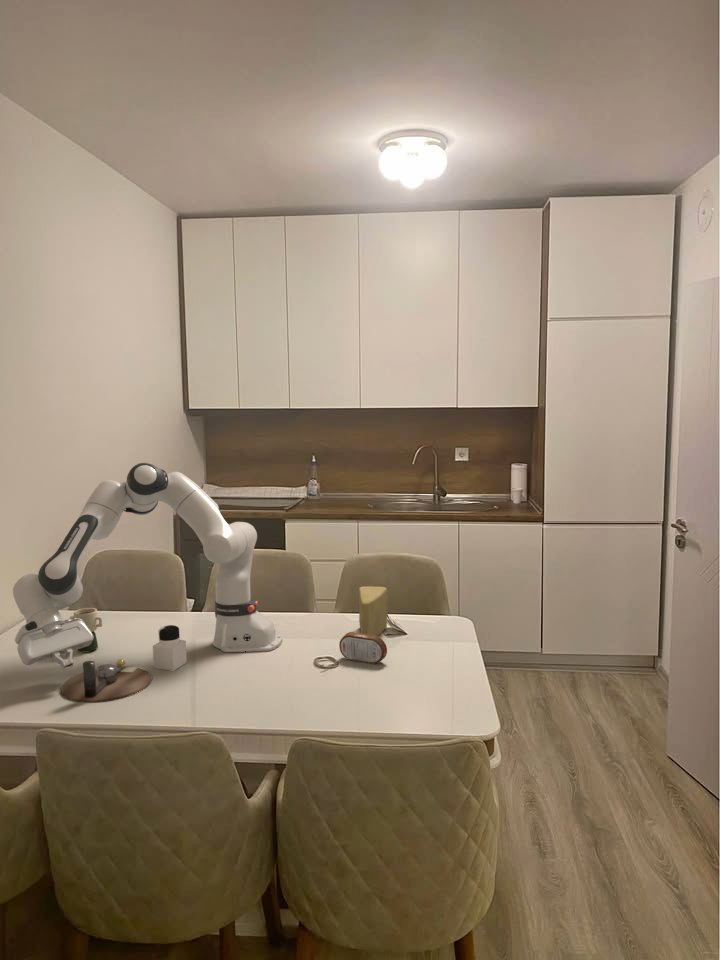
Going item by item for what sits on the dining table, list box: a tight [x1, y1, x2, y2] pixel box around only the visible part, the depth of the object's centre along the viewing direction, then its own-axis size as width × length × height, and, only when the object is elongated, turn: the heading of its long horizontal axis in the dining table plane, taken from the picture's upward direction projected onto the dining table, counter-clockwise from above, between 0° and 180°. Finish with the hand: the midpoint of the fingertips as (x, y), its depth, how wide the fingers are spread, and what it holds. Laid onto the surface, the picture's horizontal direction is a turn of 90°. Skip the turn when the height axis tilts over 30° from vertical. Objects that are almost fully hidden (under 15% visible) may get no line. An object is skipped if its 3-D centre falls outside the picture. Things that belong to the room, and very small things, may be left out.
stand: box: [61, 665, 153, 703], centre depth 211 cm, size 24×24×1 cm
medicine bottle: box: [152, 624, 187, 672], centre depth 224 cm, size 7×7×12 cm
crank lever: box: [82, 658, 126, 697], centre depth 210 cm, size 5×22×9 cm, turn 179°
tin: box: [339, 631, 388, 665], centre depth 226 cm, size 15×3×8 cm, turn 65°
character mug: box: [69, 607, 103, 653], centre depth 239 cm, size 11×7×13 cm, turn 81°
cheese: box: [358, 586, 388, 637], centre depth 247 cm, size 22×10×15 cm, turn 172°
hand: (68, 666), depth 206 cm, fingers closed
